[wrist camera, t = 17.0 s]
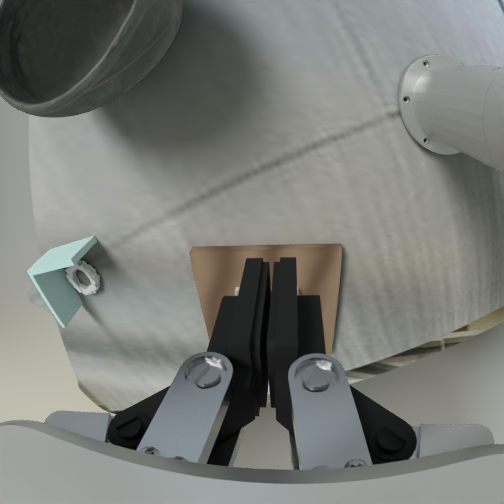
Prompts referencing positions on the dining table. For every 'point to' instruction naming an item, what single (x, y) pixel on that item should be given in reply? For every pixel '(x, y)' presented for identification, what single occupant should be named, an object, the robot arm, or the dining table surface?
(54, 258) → the right angle wall
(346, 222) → the dining table surface
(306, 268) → the walnut board
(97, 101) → the bowl
